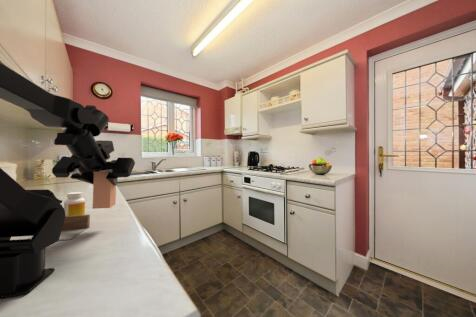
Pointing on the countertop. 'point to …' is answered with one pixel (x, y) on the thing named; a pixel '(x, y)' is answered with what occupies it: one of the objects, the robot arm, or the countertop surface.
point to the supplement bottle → (74, 204)
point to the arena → (74, 226)
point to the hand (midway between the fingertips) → (107, 184)
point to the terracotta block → (103, 191)
